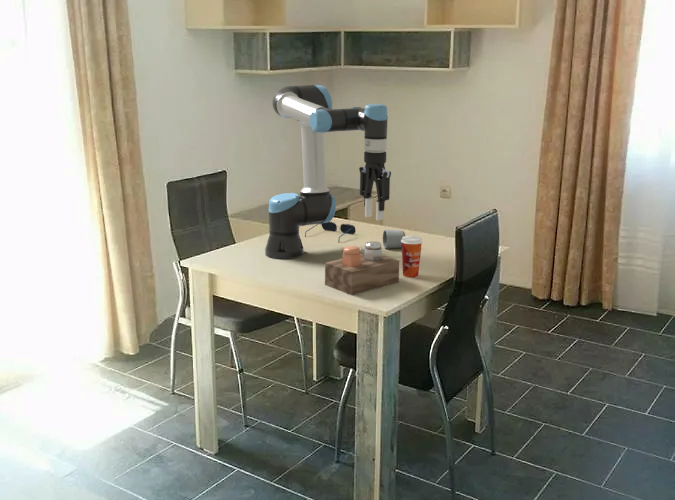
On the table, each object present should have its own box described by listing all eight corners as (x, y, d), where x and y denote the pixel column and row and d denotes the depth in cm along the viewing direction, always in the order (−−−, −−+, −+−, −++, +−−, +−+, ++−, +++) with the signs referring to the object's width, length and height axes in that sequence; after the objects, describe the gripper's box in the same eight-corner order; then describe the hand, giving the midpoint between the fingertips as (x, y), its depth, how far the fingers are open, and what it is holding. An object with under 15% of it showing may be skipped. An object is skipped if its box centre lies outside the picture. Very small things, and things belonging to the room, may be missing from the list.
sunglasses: (356, 235, 334) (355, 225, 332) (339, 247, 322) (338, 236, 320) (322, 230, 342) (321, 219, 340) (304, 242, 330) (303, 231, 329)
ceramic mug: (406, 249, 311) (406, 231, 309) (386, 250, 310) (386, 232, 308) (399, 243, 321) (399, 225, 319) (379, 244, 320) (380, 226, 318)
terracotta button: (340, 269, 265) (340, 248, 263) (352, 266, 268) (352, 245, 266) (350, 273, 261) (351, 251, 259) (363, 270, 264) (363, 248, 262)
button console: (325, 284, 268) (325, 262, 265) (371, 272, 281) (372, 251, 279) (351, 295, 257) (351, 272, 255) (398, 282, 271) (399, 260, 269)
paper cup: (406, 279, 274) (407, 241, 270) (396, 273, 281) (397, 236, 277) (425, 277, 277) (426, 239, 273) (415, 271, 284) (416, 234, 280)
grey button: (361, 264, 271) (362, 243, 269) (373, 261, 275) (373, 240, 273) (372, 267, 267) (372, 246, 265) (384, 264, 271) (384, 243, 268)
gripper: (349, 148, 264) (348, 215, 271) (385, 155, 251) (383, 224, 257) (365, 146, 269) (364, 212, 275) (402, 153, 256) (400, 221, 262)
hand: (373, 218), depth 266 cm, fingers open, 5 cm apart
